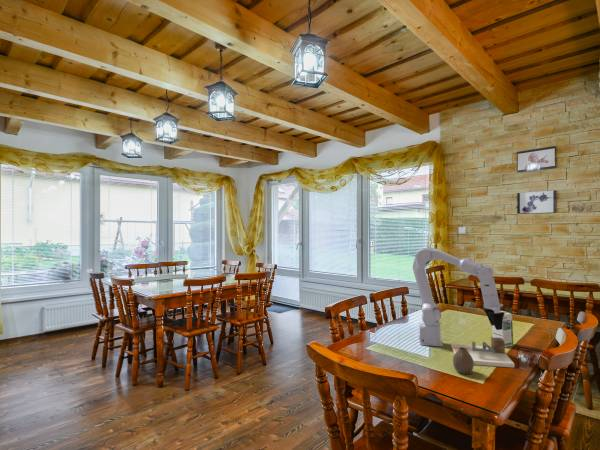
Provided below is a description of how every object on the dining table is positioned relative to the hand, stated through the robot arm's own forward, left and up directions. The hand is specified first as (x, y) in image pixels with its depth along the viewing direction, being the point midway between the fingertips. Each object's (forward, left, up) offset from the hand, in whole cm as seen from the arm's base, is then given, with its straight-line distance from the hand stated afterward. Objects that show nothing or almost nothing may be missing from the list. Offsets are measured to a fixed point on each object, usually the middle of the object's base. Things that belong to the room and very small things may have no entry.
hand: (496, 327), depth 142 cm
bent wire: (-7, -5, -10) cm, 13 cm away
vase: (-17, -21, -12) cm, 29 cm away
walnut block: (0, -1, -10) cm, 10 cm away
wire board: (-7, -4, -11) cm, 14 cm away
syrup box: (+5, +13, -12) cm, 18 cm away
